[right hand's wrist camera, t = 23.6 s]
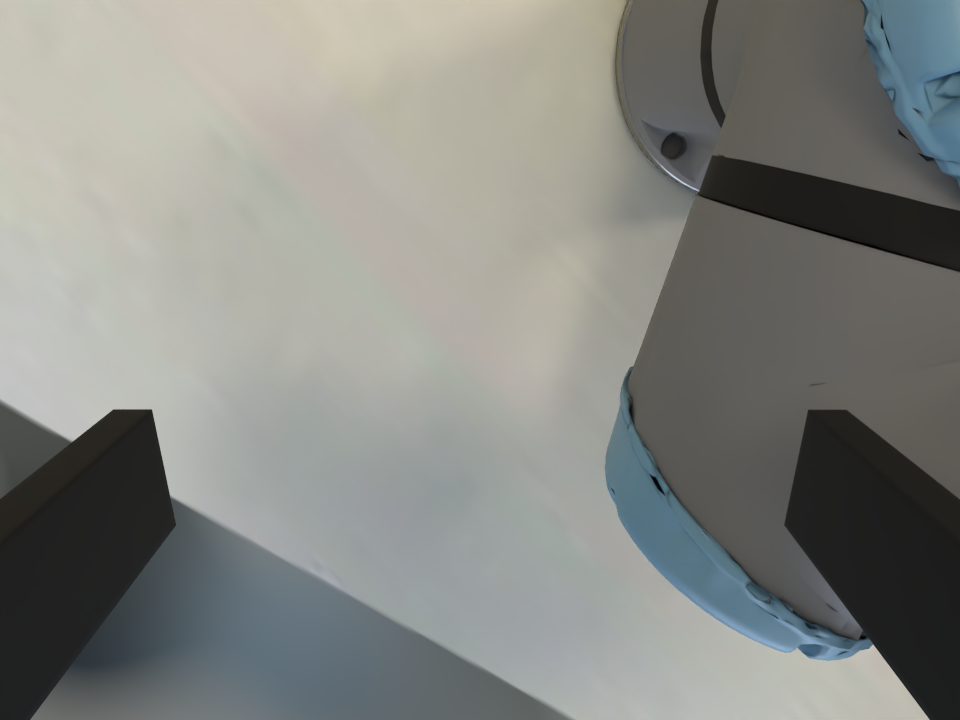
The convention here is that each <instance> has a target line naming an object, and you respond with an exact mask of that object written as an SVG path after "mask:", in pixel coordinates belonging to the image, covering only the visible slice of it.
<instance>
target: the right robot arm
mask: <svg viewBox="0 0 960 720" xmlns="http://www.w3.org/2000/svg"><path fill="white" fill-rule="evenodd" d="M616 81H617V89H618V95H619V100H620V104H621V108H622V112H623V114H624V117H625V120H626V123H627V125H628V127H629V129H630V131H631V133H632V135H633V137H634V139H635V141H636V142H637V144H638V145H639V147H640V148H641V150H642V151H643V152H644V154H645V155H646V156H647V158H648V159H649V160H650V161H651V162H652V163H653V164H654V165H655V166H656V167H657V168H658V169H660V170H661V171H662V172H663V173H664V174H666V175H667V176H668V177H670V178H671V179H673V180H674V181H676V182H678V183H680V184H682V185H683V186H685V187H687V188H690V189H692V190H695V191H698V194H699V195H698V194H697V195H696V197H695V200H694V202H693V205H692V208H691V211H690V213H689V216H688V219H687V222H686V224H685V227H684V230H683V233H682V235H681V238H680V241H679V244H678V246H677V249H676V252H675V255H674V257H673V260H672V263H671V266H670V268H669V271H668V274H667V277H666V279H665V282H664V285H663V288H662V290H661V293H660V296H659V299H658V302H657V304H656V307H655V310H654V313H653V315H652V318H651V321H650V324H649V326H648V329H647V332H646V335H645V337H644V340H643V343H642V346H641V348H640V351H639V354H638V356H637V359H636V362H635V364H634V366H633V367H630V368H629V370H628V372H627V374H626V375H625V378H624V381H623V384H622V387H621V394H620V408H619V411H618V415H617V418H616V422H615V425H614V429H613V432H612V436H611V439H610V442H609V445H608V448H607V453H606V463H605V473H606V482H607V487H608V490H609V492H610V495H611V497H612V499H613V501H614V502H615V504H616V505H617V510H618V516H619V518H620V520H621V522H622V524H623V526H624V528H625V529H626V531H627V532H628V534H629V535H630V537H631V538H632V540H633V541H634V542H635V544H636V545H637V547H638V548H639V549H640V550H641V552H642V553H643V554H644V555H645V557H646V558H647V559H648V560H649V561H650V562H651V564H652V565H653V566H654V567H655V568H656V569H657V570H658V571H659V572H660V573H661V574H662V575H663V576H664V577H665V578H666V579H667V580H668V581H669V582H670V583H671V584H672V585H674V586H675V587H676V588H677V589H678V590H679V591H680V592H681V593H683V594H684V595H685V596H686V597H687V598H689V599H690V600H691V601H692V602H694V603H695V604H696V605H698V606H699V607H700V608H702V609H703V610H704V611H706V612H707V613H708V614H710V615H711V616H713V617H714V618H716V619H717V620H719V621H720V622H722V623H724V624H725V625H727V626H728V627H730V628H732V629H733V630H735V631H737V632H739V633H740V634H742V635H744V636H746V637H748V638H750V639H752V640H754V641H757V642H759V643H761V644H763V645H765V646H768V647H770V648H773V649H775V650H779V651H782V652H785V653H787V652H792V651H793V650H795V649H796V648H798V649H799V650H800V651H802V652H803V653H804V654H805V655H806V656H807V657H808V658H811V659H819V660H827V661H830V660H840V659H844V658H848V657H851V656H852V655H854V654H855V653H857V652H858V651H860V650H864V649H869V648H870V647H871V645H873V644H874V646H875V647H876V648H877V650H878V651H879V652H880V654H881V655H882V656H883V658H884V659H885V660H886V662H887V663H888V664H889V666H890V667H891V668H892V670H893V671H894V672H895V674H896V675H897V676H898V678H899V679H900V680H901V682H902V683H903V684H904V686H905V687H906V688H907V690H908V691H909V692H910V694H911V695H912V696H913V698H914V699H915V700H916V702H917V703H918V704H919V706H920V707H921V708H922V710H923V711H924V712H925V714H926V715H927V716H928V718H929V719H930V720H960V0H628V2H627V5H626V7H625V11H624V14H623V18H622V21H621V25H620V30H619V35H618V42H617V50H616ZM175 526H176V523H175V518H174V513H173V509H172V504H171V499H170V494H169V489H168V485H167V480H166V475H165V470H164V465H163V461H162V456H161V451H160V446H159V441H158V437H157V432H156V427H155V422H154V417H153V413H152V410H112V411H111V412H110V413H109V414H107V415H106V416H105V417H104V418H102V419H101V420H100V421H98V422H97V423H96V424H95V425H93V426H92V427H91V428H90V429H88V430H87V431H86V432H85V433H83V434H82V435H81V436H80V437H78V438H77V439H76V440H74V441H73V442H72V443H71V444H69V445H68V446H67V447H66V448H64V449H63V450H62V451H61V452H59V453H58V454H57V455H56V456H54V457H53V458H52V459H50V460H49V461H48V462H47V463H45V464H44V465H43V466H42V467H40V468H39V469H38V470H37V471H35V472H34V473H33V474H31V475H30V476H29V477H28V478H26V479H25V480H24V481H23V482H21V483H20V484H19V485H18V486H16V487H15V488H14V489H13V490H11V491H10V492H9V493H8V494H6V495H5V496H4V497H2V498H1V499H0V720H30V719H31V718H32V716H33V715H34V714H35V712H36V711H37V710H38V708H39V707H40V706H41V704H42V703H43V702H44V700H45V699H46V698H47V696H48V695H49V694H50V692H51V691H52V690H53V688H54V687H55V686H56V684H57V683H58V682H59V680H60V679H61V678H62V676H63V675H64V674H65V672H66V671H67V670H68V668H69V667H70V666H71V664H72V663H73V662H74V660H75V659H76V658H77V656H78V655H79V654H80V652H81V651H82V650H83V648H84V647H85V646H86V644H87V643H88V642H89V640H90V639H91V638H92V636H93V635H94V634H95V632H96V631H97V630H98V628H99V627H100V626H101V624H102V623H103V622H104V620H105V619H106V618H107V616H108V615H109V614H110V612H111V611H112V610H113V608H114V607H115V606H116V604H117V603H118V602H119V600H120V599H121V598H122V596H123V595H124V594H125V592H126V591H127V590H128V588H129V587H130V586H131V584H132V583H133V582H134V580H135V579H136V578H137V576H138V575H139V574H140V572H141V571H142V570H143V568H144V567H145V566H146V564H147V563H148V562H149V560H150V559H151V558H152V556H153V555H154V554H155V552H156V551H157V550H158V548H159V547H160V546H161V544H162V543H163V542H164V540H165V539H166V538H167V536H168V535H169V534H170V532H171V531H172V530H173V528H174V527H175Z"/></svg>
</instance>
